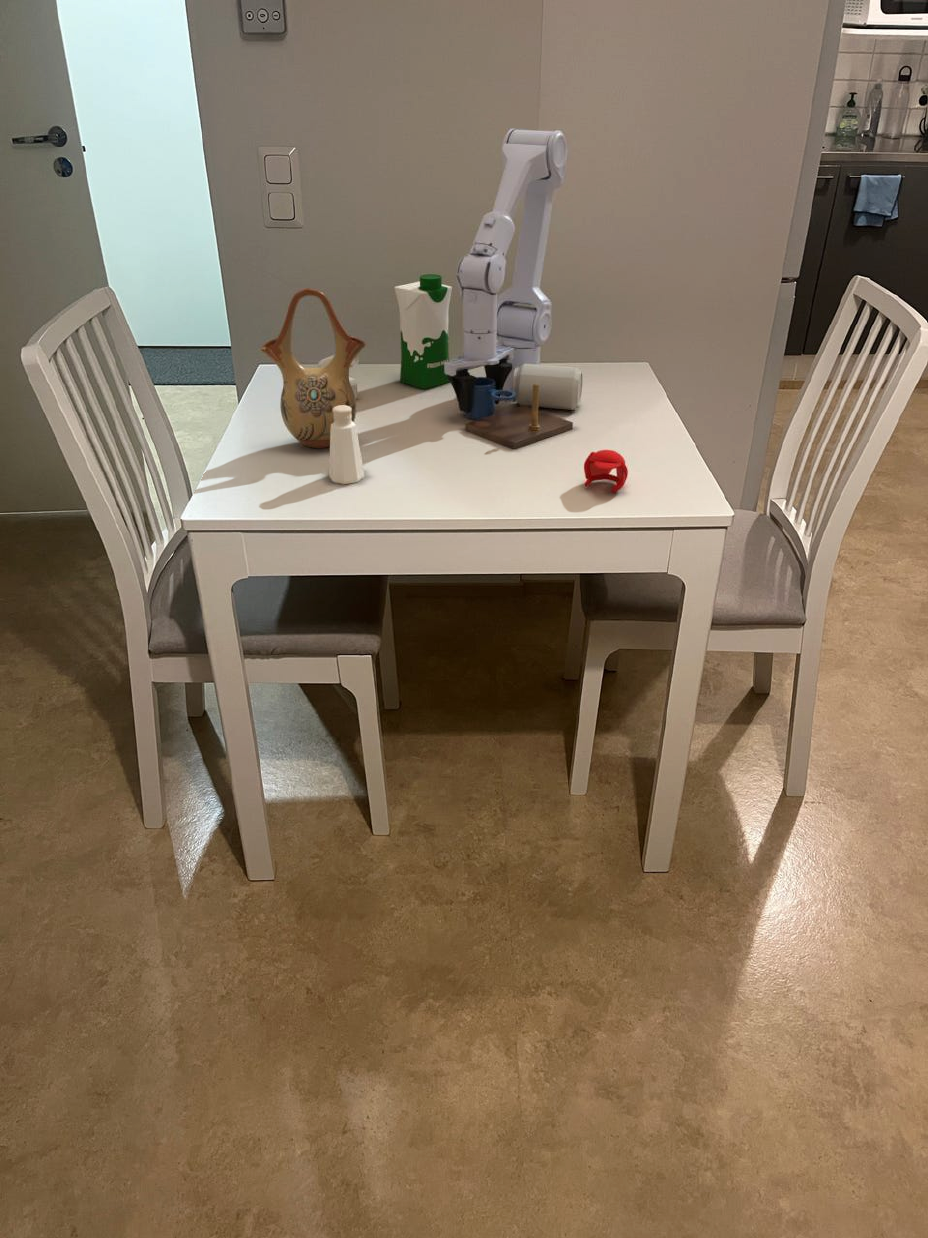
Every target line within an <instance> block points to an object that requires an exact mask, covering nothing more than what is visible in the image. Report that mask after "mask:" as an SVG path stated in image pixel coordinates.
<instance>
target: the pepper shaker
mask: <svg viewBox="0 0 928 1238" xmlns="http://www.w3.org/2000/svg"><path fill="white" fill-rule="evenodd" d="M351 411H352V408H351V407H349V406H346V405H339V406H336V407H334V408H333V414H334V415H333V416H334V423H332V424H331V429H330V447H329V466H328V467H329V468H328V469H329V470H328V472H329V473H328V476H329V478H330V480H331V481H332V482H333V483H336V484H342V485H348V484H355V483H359V482H360V481H362V479H364V478H365V476H366V475H365V471H364V464H363V459H362V453H361V447H360V442H359V435H358V430H357V425H356V423H355V421H354V422H353V421H352V419H351V418H352V417H351V416H352V414H351Z"/></svg>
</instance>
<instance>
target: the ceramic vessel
mask: <svg viewBox="0 0 928 1238" xmlns="http://www.w3.org/2000/svg"><path fill="white" fill-rule="evenodd" d="M305 297H315V298H317V299H319V301H320V302H321V304H322V306H323V307H324V309H325V312H326V314H327V317H328V319H329V322H330V324H331V328H332V332H333V337H334V344H335V352H334V354H333V355H334V357H333V359H332V360H331V361H330V362H329V363H328V364H327V365H325V366H323V367H319V368H317V367H307V366H305V365H303V364H302V363H300V362H299V361H298V360H297V359H296V358H295V357H294V353H293V350H292V329H293V322H294V318H295V314H296V310H297V307H298V304H299V303H300V300H302V299H303V298H305ZM366 346H367V344H366V342H365V341H364V340H362V339H360V338H358V337H356V336H353V335H349V334H348V333H347V331H345V329H344V328H343V326H342V324H341V322H340V320H339V319H338V316H337V314H336V312H335V309H334V307H333V306H332V304H331V301H330V299H329V298H328V297H327V295H326V294H325V293H324V292H322V291H321V290H318V289H316V288H312V287H306V288H304V289H300V290H299V291H297V292H296V293H294V294H293V296H292V297H291V299H290V301H289V305H288V308H287V311H286V315H285V318H284V322H283V324H282V328H281V330H280V332H279V334H278V336H277V338H273V339H270V340H269V341H267V342H265V343H264V344H263V345H261V347H260V348H259V350H260V351H261V352H262V354H264V355H265V356H267V357H268V358H269V359H270V360H272V361H273V363H274V364H275V365H276V366H277V367H278V369H279V370H280V371H279V372H280V373H281V376H282V383H283V385H282V391H281V395H280V400H279V401H280V402H279V406H280V407H279V408H280V413H281V418H282V421H283V423H284V426H285V428H286V429H287V431H288V432H289V433H290V435H291V436H292V437H293V438H294V439H296V440H297V441H298V442H299V443H300V444H302V445H304V446H306V447H309V448H315V449H325V448H330V429H331V424H332V423H334V416H333V415H334V414H333V408H334V407H336V406H339V405H346V406H349V407H351V408H352V411H351V414H352V416H351V417H352V418H351V419H352V421H353V422H354V423H355V420H356V414H357V401H356V399H355V395H354V392H353V390H352V387H351V385H350V382H349V377H350V369H351V367H350V366H351V363H352V361H353V360H354V358H355V357H356V356H357V354H358V355H359V354H360V352H361V351H362V350H363V349H364V348H365V347H366Z"/></svg>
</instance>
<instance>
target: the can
mask: <svg viewBox="0 0 928 1238" xmlns="http://www.w3.org/2000/svg"><path fill="white" fill-rule="evenodd" d="M535 383H537V384H538V385H539V397H538V408H541V409H542V408H544V409H555V410H568V411H574V410H575V409H576V408H577V407H579V406H580V403H581V399H582V392H583V372H582V371H581V370H580V369H579V367H578V366H565V365H552V364H551V365H550V364H540V365H537V364H523V365H522V366H521V367H520V368H518V367H516V368H515V370H514V373H513V379H512V391H513V392H515V393H516V399H514V400H512V402H513V403H516V402H517V404H518V405H519V406H522V405H524V406H527V407H530V408H532V396H533V384H535Z"/></svg>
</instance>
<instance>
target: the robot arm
mask: <svg viewBox="0 0 928 1238" xmlns="http://www.w3.org/2000/svg"><path fill="white" fill-rule="evenodd" d="M568 153H569V152H568V145H567V140H566V137H565V136H564V133H563V131H561V130H553V131H552V130H534V129H531V130H530V129H518V128H510V129H509V130H508V131H507V132H506V134H505V135H504V138H503V141H502V145H501V162H502V167H503V169H504V170H503V172H502V175H501V180H500V183H499V186H498V190H497V194H496V197H495V200H494V205H493V208H492V211H490V212H487V213H485V214H484V215H483V217H482V219H481V222H480V224H479V227H478V229H477V232H476V235H475V237H474V240H473V243H472V244H471V245H472V246H471V248H470V251H469V253H467V254H466V255H465V256H463V257H461V258H460V260H459V262H458V264H457V268H456V274H455V281H456V285H457V287H458V290H459V299H460V301H461V302H462V354H460V355H458V356H456V357H454V358H453V359H449V361H448V362H445V363H444V372H445V374H446V375H447V377H448V379H449V381H450V382H449V383H450V384H451V386H452V388H453V391H454V394H455V396H456V397H455V398H456V400H457V404H458V407H459V410H460V412H463V413H464V412H465V413H470V412H471V404H472V391H473V386H474V383H475V380H476V377H477V376H475V375H472V374H471V373H470V372H469V371H470V370H474V369H478V368H481V367H483V368H484V373H485V377H486V378H490V379H493V380H494V381H495V389H496V390H508V391H509V390H510V391H512V379H513V373H514V370H515V368H516V367H518V368H520V367H521V366H522V365H523V364H537V365H541V364H540V363H541V345H543V344H544V343H545V342H546V341H547V339H548V338H549V336H550V334H551V331H552V330H551V329H552V306H553V305H552V304H553V303H552V301H550V299H549V298H548V297H547V295H545V293H544V292H543V291H542V289H541V287H540V286H541V281H542V274H543V268H544V261H545V255H546V248H547V244H548V243H547V241H548V235H549V230H550V223H551V215H552V210H553V203H554V197H555V191H556V190H557V189H558V188H560V187H561V186H563V182H564V177H565V173H566V165H567V159H568ZM523 198H524V201H523V208H522V215H521V216H522V217H521V221H520V229H519V236H518V242H517V248H516V249H517V250H516V255H515V263H514V269H513V276H512V283H511V286H510V287H508V288H506V289H505V290H504V291H503V292H501V293H500V294H498V293H499V292H500V290H501V289H502V287H503V284H504V281H505V273H506V266H507V260H506V255H507V253H508V250H509V248H510V245H511V242H512V240H513V237H514V234H515V232H516V226H515V223H514V221H513V219H514V217H515V214H516V212H517V210H518V208H519V206H520V204H521V201H522V200H523ZM515 304H516V305H515ZM517 304H523V305H517ZM525 305H531V306H525ZM532 306H534V307H532ZM506 395H508V394H506ZM496 396H499V397H502V394H499V395H496ZM508 396H511V395H508ZM499 403H500V401H496V400H495V405H499ZM465 413H464V414H465Z"/></svg>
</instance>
